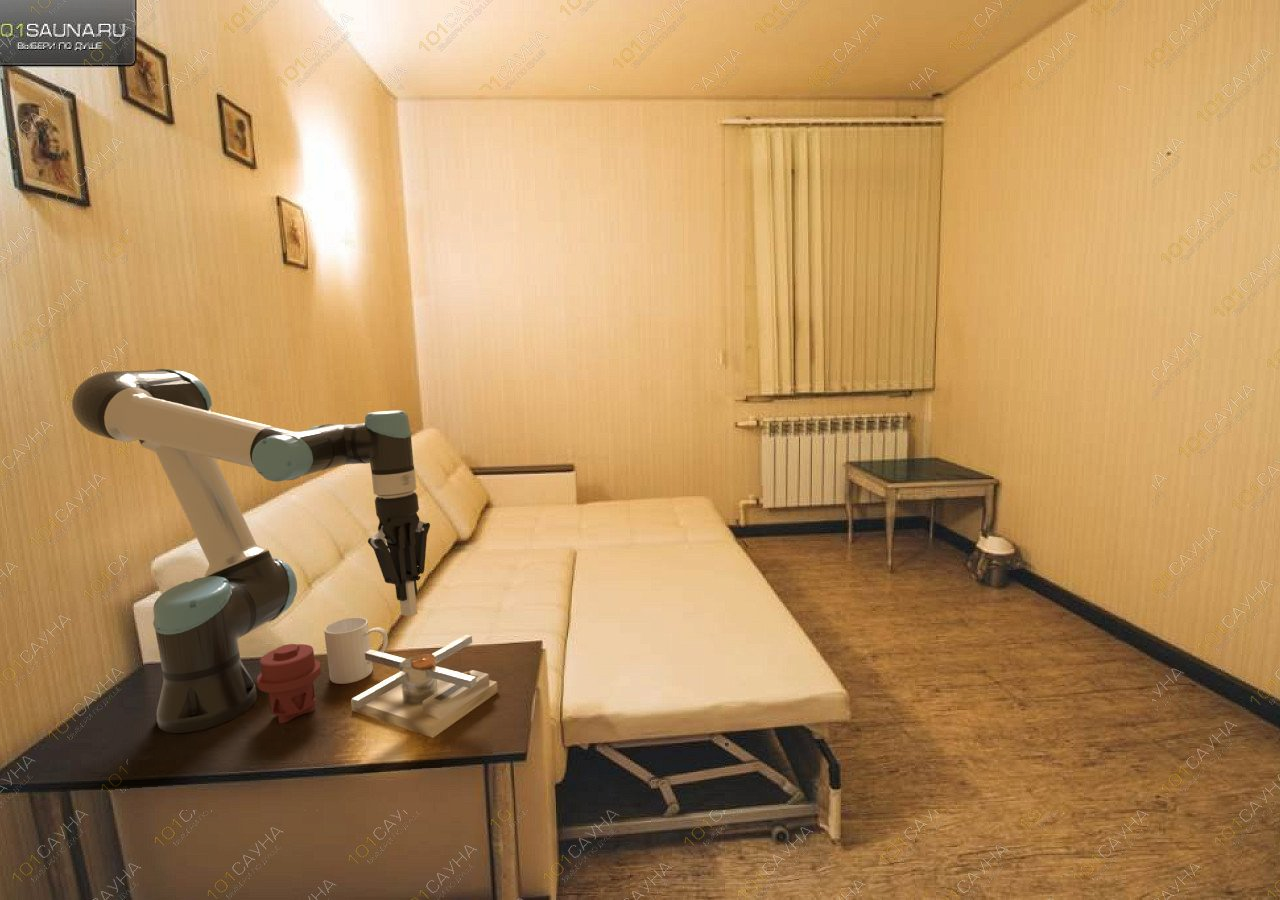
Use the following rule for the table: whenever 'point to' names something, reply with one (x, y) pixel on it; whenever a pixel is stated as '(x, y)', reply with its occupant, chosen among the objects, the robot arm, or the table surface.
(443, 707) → the stand
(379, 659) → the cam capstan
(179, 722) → the robot arm
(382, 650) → the mug
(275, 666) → the mechanical component
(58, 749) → the table surface
